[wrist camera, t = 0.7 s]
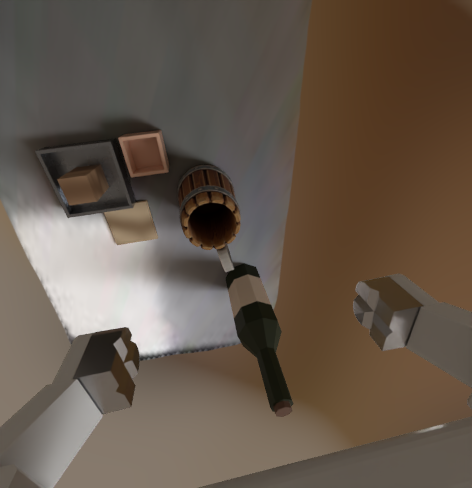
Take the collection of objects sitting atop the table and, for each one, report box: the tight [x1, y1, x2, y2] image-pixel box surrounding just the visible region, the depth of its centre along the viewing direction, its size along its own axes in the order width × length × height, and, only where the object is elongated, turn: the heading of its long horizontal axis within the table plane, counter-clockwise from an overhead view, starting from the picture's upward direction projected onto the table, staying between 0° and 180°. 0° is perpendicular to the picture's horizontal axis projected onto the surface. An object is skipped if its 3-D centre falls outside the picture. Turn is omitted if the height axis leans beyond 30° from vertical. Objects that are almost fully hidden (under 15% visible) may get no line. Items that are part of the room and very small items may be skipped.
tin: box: [35, 139, 136, 218], centre depth 42 cm, size 11×11×3 cm
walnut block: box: [57, 164, 109, 206], centre depth 39 cm, size 4×4×7 cm
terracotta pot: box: [118, 130, 170, 177], centre depth 40 cm, size 6×6×4 cm
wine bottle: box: [226, 264, 293, 417], centre depth 47 cm, size 8×8×30 cm
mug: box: [177, 165, 241, 272], centre depth 42 cm, size 16×11×15 cm
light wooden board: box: [104, 200, 158, 245], centre depth 48 cm, size 8×8×1 cm
